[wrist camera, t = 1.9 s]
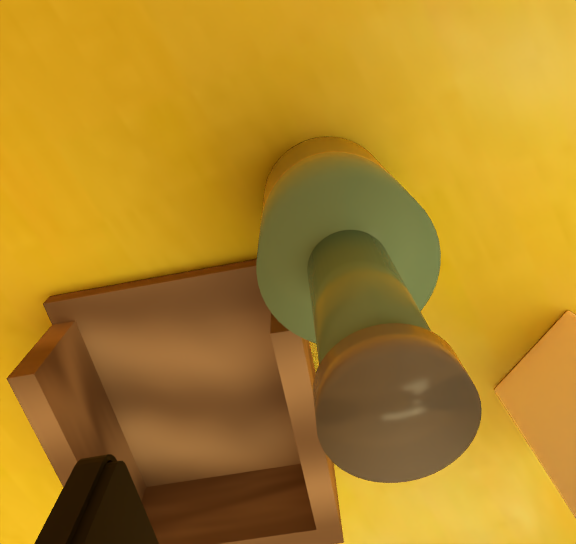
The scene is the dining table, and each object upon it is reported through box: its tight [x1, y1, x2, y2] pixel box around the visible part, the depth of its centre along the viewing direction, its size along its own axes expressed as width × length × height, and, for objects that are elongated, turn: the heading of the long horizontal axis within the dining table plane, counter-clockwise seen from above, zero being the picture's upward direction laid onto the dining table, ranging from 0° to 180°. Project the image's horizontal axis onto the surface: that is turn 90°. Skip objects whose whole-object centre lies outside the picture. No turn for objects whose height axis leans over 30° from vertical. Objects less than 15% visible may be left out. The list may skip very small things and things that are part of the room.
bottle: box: [256, 137, 481, 483], centre depth 16 cm, size 6×6×15 cm
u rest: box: [7, 259, 344, 544], centre depth 24 cm, size 14×12×5 cm
